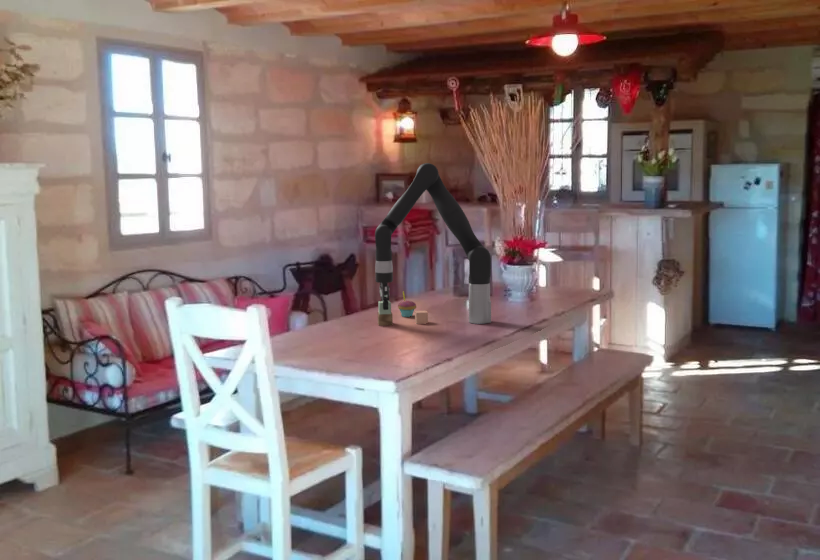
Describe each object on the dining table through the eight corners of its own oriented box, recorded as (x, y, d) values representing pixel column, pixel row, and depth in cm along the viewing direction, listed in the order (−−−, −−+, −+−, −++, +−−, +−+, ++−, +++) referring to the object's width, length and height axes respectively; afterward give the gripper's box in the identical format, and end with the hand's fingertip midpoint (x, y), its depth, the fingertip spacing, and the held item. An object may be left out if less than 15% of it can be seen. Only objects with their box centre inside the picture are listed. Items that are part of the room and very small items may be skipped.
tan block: (426, 321, 380) (426, 310, 379) (427, 323, 375) (427, 312, 374) (415, 322, 379) (414, 311, 378) (416, 324, 374) (416, 312, 374)
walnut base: (391, 323, 378) (391, 311, 378) (392, 325, 372) (392, 314, 372) (377, 323, 378) (377, 312, 377) (378, 326, 372) (378, 314, 371)
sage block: (389, 312, 377) (389, 300, 376) (391, 314, 372) (391, 302, 371) (378, 312, 376) (378, 301, 376) (379, 314, 371) (379, 303, 371)
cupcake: (395, 317, 392) (394, 291, 390) (402, 314, 400) (401, 288, 398) (412, 318, 389) (412, 291, 387) (419, 314, 397) (419, 289, 395)
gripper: (394, 272, 365) (395, 310, 368) (390, 268, 379) (391, 305, 382) (376, 273, 364) (377, 311, 367) (374, 269, 378) (374, 305, 381)
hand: (384, 308), depth 374 cm, fingers open, 8 cm apart
